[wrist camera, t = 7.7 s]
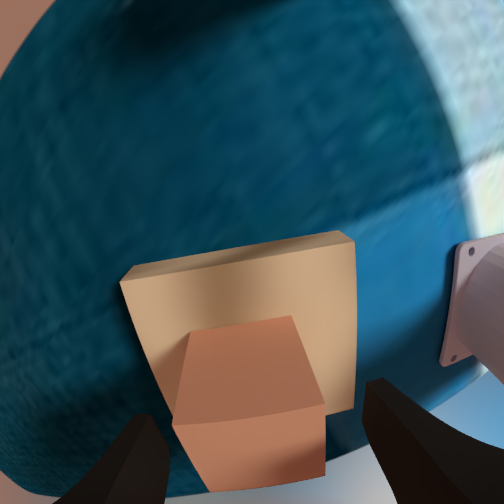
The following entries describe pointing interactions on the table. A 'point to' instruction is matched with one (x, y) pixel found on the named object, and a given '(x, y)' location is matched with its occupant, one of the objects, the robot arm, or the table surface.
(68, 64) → the table surface
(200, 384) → the terracotta block
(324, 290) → the birch block
